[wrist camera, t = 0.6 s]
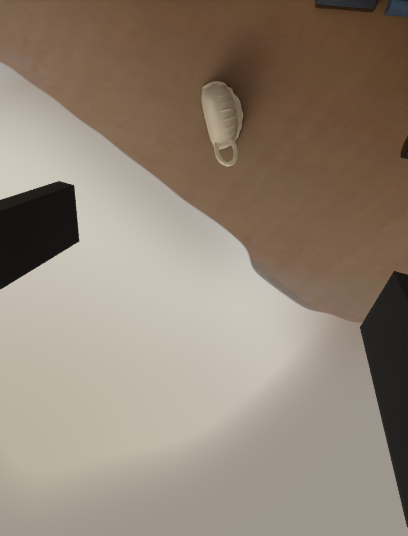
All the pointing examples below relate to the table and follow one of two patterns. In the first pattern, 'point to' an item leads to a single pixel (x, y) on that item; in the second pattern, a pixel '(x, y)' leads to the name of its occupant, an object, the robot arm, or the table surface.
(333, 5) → the stand
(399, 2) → the tray
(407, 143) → the grey frying pan
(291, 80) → the table surface
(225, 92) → the decorative ornament
